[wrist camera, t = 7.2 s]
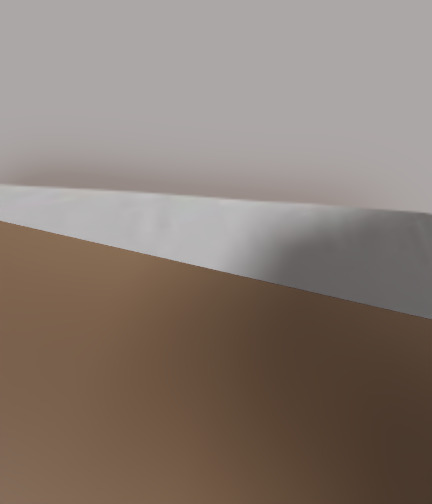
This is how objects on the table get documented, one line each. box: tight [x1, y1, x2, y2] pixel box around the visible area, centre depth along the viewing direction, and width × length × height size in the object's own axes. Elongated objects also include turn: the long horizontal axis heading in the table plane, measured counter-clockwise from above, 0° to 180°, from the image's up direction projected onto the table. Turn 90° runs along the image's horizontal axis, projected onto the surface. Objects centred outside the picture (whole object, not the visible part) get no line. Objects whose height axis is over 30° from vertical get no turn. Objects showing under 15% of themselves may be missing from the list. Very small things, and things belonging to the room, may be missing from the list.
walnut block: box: [0, 221, 432, 504], centre depth 8 cm, size 5×5×12 cm
